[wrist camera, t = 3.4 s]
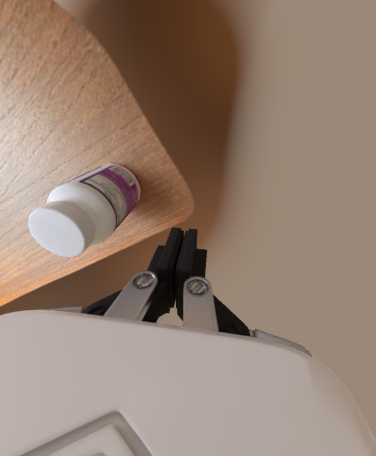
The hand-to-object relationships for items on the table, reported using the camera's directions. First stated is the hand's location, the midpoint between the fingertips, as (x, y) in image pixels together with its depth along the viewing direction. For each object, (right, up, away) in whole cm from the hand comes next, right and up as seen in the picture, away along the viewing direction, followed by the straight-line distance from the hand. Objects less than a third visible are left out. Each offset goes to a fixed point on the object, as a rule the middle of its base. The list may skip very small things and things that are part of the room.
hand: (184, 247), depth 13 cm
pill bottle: (-7, +6, +8) cm, 13 cm away
